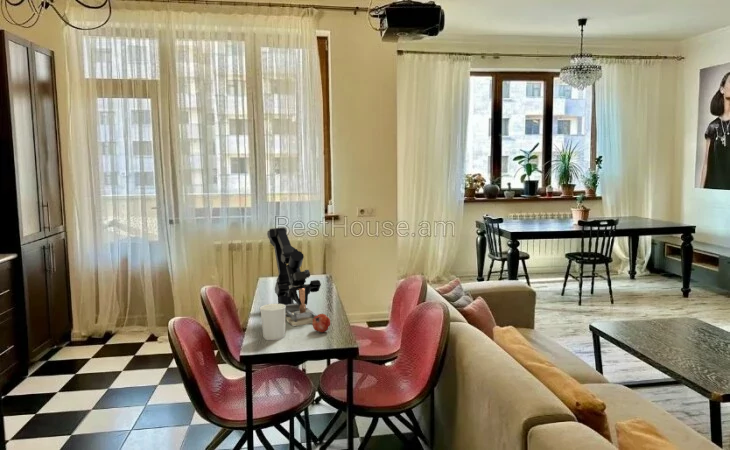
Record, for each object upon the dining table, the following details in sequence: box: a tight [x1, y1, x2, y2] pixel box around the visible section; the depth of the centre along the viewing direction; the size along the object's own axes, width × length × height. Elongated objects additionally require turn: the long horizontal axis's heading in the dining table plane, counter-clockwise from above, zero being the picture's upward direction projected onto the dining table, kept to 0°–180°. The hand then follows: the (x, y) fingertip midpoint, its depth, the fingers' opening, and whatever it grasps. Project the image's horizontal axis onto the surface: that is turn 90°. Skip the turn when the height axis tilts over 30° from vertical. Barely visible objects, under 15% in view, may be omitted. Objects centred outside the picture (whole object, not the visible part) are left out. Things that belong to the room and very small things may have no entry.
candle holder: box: [259, 303, 286, 341], centre depth 198 cm, size 10×10×12 cm
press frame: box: [285, 302, 318, 327], centre depth 222 cm, size 18×12×4 cm, turn 24°
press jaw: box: [294, 288, 313, 320], centre depth 217 cm, size 4×7×13 cm, turn 114°
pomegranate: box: [311, 313, 331, 333], centre depth 203 cm, size 7×7×10 cm
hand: (303, 304), depth 216 cm, fingers closed on press jaw, 3 cm apart
